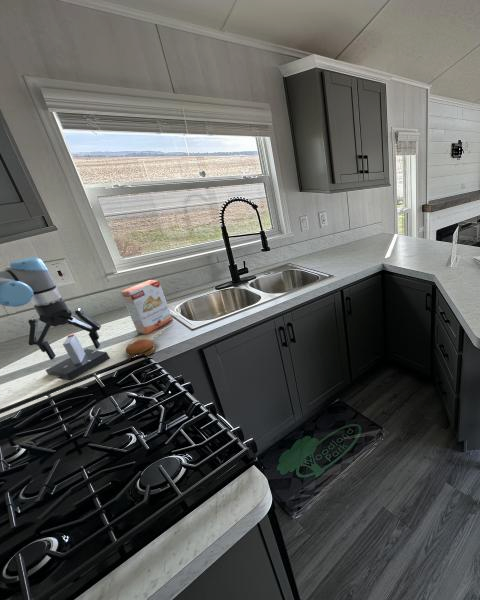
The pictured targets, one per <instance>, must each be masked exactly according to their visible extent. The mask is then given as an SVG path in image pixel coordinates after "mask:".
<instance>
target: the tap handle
mask: <svg viewBox="0 0 480 600" xmlns="http://www.w3.org/2000/svg"><path fill="white" fill-rule="evenodd" d="M62 346H63V347H64V349H65V352H66V353H67V354H68V356H69V357H70V358H71V360H72V361H73V363H74V365H75V364H78V363H81V362H82V360H83V358H84V356H85V352H84V350H85V349H84V348H83V347H82V346H83V345H82V344H81V343H80V341H79V339H78V337H77V335H76V334H69V335H67V337H66V339H65V340H64V341H63V343H62Z"/></svg>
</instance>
